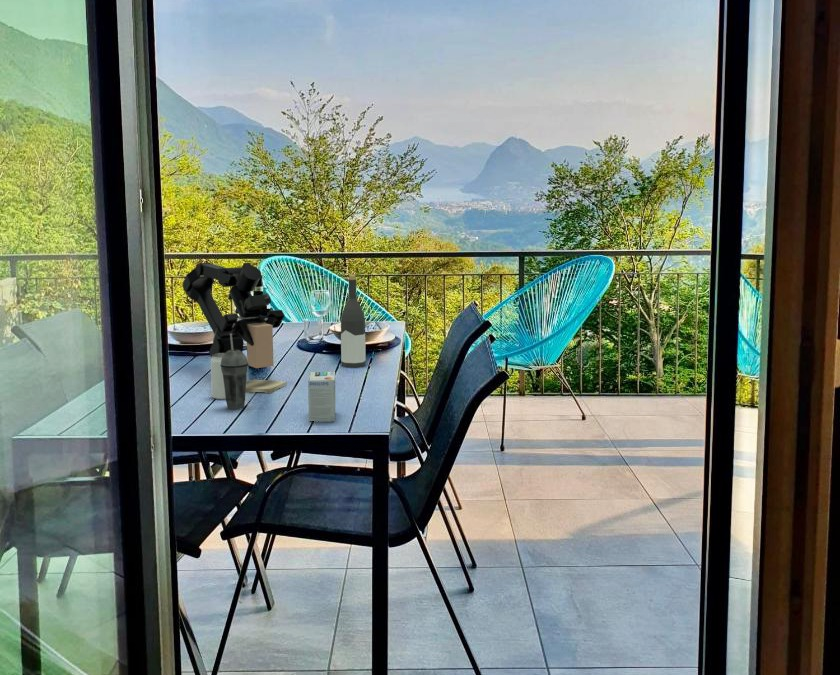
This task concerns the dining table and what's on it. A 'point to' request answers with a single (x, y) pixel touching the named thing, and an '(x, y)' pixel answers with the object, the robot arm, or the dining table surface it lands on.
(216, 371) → the can
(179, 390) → the dining table surface
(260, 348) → the tall block
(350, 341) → the wine bottle
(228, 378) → the beverage cup
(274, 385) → the brass board
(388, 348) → the dining table surface
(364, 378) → the dining table surface
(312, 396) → the light bulb box
